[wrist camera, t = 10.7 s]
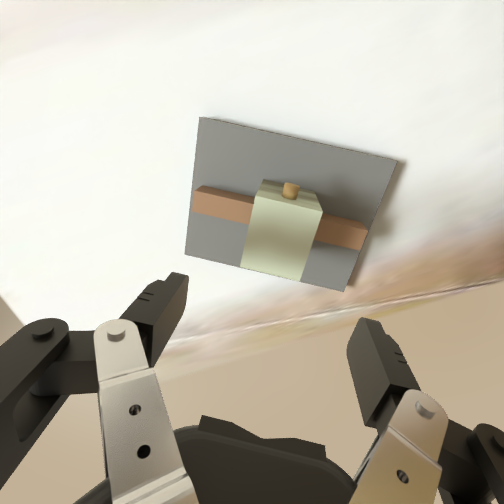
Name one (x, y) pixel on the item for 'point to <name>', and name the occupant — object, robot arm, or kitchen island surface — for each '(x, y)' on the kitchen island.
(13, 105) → the kitchen island surface
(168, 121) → the kitchen island surface
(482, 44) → the kitchen island surface
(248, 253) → the sage block
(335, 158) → the cleat board
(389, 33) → the kitchen island surface
